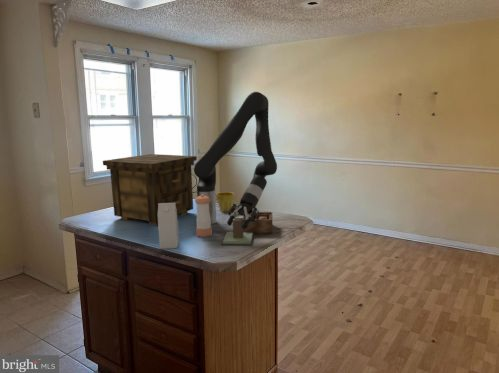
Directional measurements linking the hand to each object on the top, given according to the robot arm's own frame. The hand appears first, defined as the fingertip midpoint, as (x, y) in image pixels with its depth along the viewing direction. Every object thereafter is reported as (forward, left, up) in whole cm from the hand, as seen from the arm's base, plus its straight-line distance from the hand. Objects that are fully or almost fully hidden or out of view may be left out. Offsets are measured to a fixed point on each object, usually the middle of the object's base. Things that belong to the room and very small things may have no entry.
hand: (235, 226), depth 162 cm
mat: (+1, +1, -7) cm, 7 cm away
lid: (+1, +1, -6) cm, 6 cm away
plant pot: (-12, +54, -7) cm, 56 cm away
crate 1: (-50, +40, -7) cm, 65 cm away
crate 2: (+9, +17, -7) cm, 20 cm away
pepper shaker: (-16, +9, -7) cm, 20 cm away
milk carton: (-28, -7, -7) cm, 30 cm away
